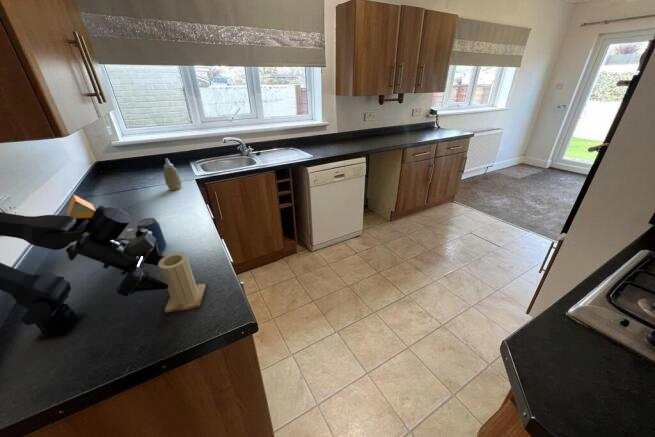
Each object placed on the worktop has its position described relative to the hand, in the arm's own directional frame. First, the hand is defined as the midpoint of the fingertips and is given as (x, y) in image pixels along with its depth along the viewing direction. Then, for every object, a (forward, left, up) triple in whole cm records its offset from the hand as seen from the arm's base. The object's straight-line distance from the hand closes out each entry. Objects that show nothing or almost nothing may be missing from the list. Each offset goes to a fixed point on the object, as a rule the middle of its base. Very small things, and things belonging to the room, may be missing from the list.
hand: (170, 276), depth 74 cm
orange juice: (-41, +40, -9) cm, 58 cm away
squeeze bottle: (-28, +97, -9) cm, 102 cm away
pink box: (-22, +24, -9) cm, 34 cm away
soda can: (-16, +30, -9) cm, 35 cm away
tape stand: (+2, 0, -9) cm, 9 cm away
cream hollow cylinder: (+2, 0, -8) cm, 8 cm away
